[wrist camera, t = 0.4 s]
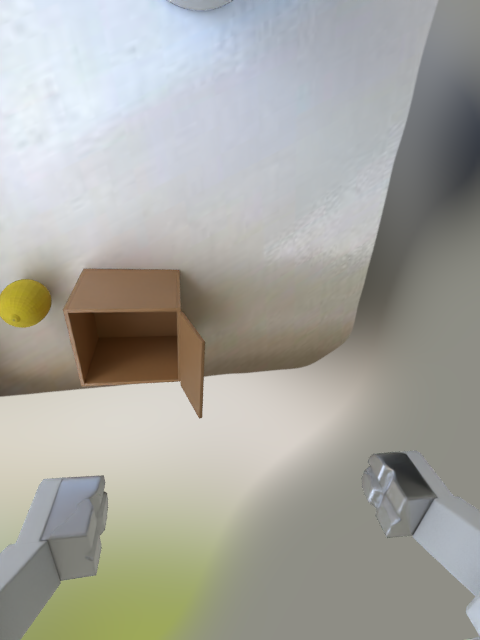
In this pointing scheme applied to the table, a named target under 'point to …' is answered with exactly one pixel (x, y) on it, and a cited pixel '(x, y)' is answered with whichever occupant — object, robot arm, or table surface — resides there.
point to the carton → (125, 326)
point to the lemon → (24, 303)
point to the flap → (192, 363)
